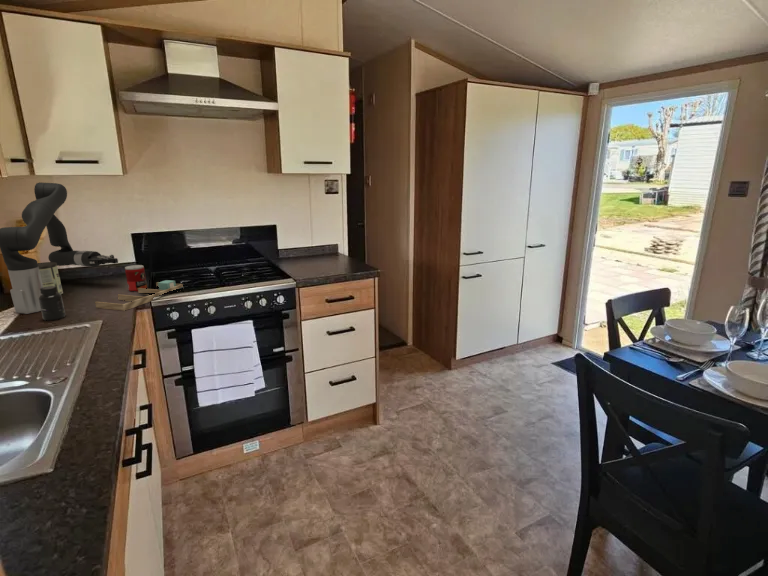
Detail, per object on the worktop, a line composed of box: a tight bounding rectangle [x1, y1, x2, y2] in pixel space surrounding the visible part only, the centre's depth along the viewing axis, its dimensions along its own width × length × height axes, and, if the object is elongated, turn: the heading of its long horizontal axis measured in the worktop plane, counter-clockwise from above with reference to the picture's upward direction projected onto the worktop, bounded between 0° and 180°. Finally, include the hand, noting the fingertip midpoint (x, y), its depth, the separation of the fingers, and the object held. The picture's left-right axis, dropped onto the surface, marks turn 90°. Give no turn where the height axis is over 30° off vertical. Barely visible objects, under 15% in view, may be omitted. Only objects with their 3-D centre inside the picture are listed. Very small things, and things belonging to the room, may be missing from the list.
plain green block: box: [158, 279, 177, 290], centre depth 191 cm, size 5×5×5 cm
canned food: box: [124, 264, 148, 292], centre depth 195 cm, size 8×8×11 cm
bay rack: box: [94, 281, 184, 312], centre depth 183 cm, size 32×15×2 cm, turn 164°
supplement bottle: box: [39, 286, 66, 322], centre depth 157 cm, size 7×7×12 cm
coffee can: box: [37, 261, 64, 295], centre depth 187 cm, size 10×10×14 cm
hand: (116, 261), depth 196 cm, fingers closed
